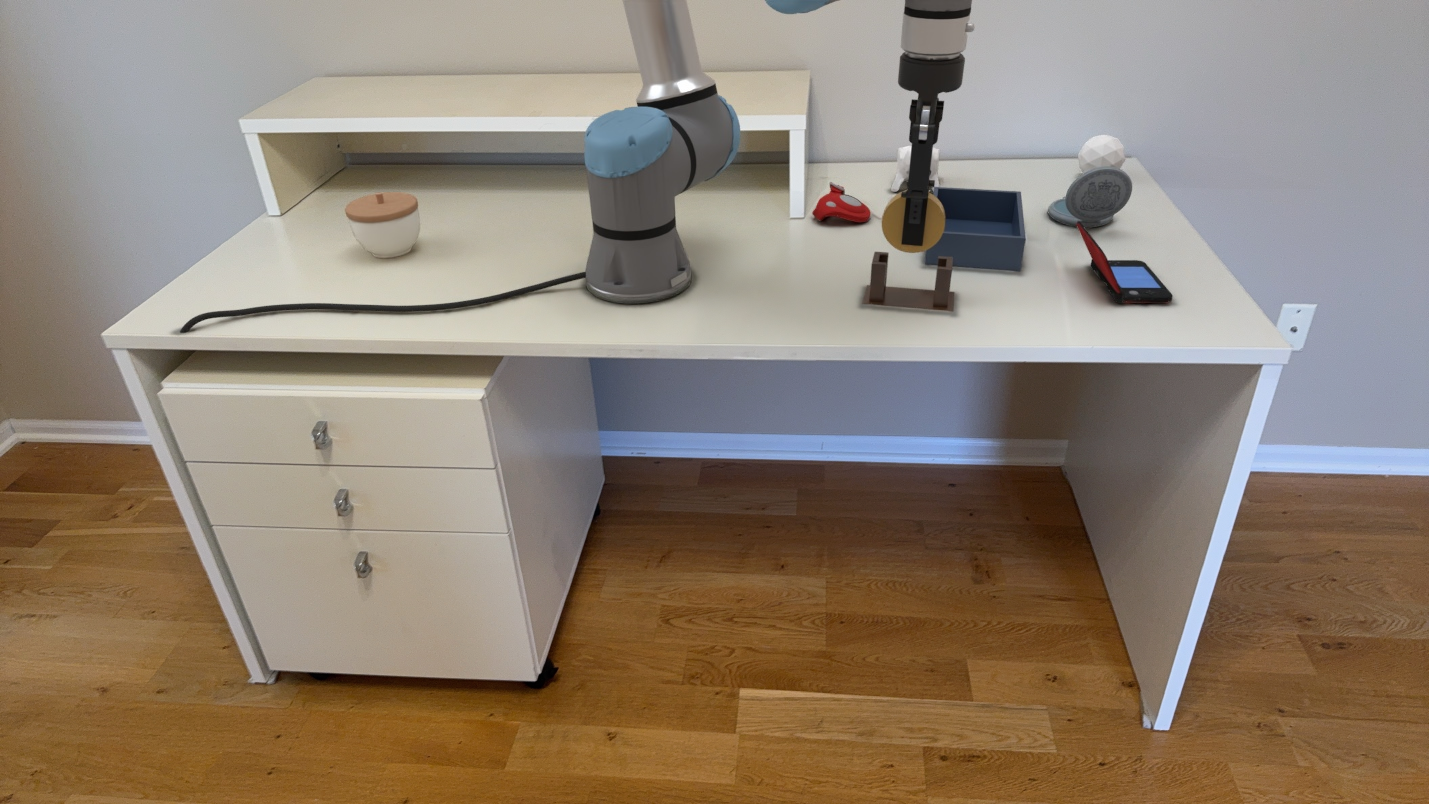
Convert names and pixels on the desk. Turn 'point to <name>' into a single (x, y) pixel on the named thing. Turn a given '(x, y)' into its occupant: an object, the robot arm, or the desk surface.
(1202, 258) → the desk surface
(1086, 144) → the geometric ball
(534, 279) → the desk surface
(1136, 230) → the desk surface
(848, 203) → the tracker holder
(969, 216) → the bin
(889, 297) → the holder
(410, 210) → the trinket box
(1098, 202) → the pocket watch
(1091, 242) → the handheld console
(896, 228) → the disc
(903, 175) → the white animal figurine
